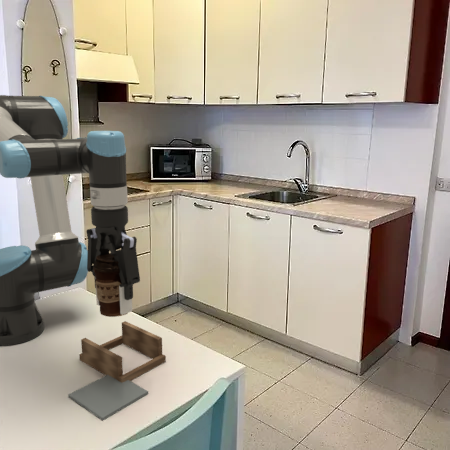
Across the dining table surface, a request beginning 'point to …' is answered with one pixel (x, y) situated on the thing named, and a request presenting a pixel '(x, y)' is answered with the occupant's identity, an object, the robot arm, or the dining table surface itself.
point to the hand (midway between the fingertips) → (114, 307)
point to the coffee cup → (108, 285)
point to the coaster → (107, 396)
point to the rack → (112, 362)
